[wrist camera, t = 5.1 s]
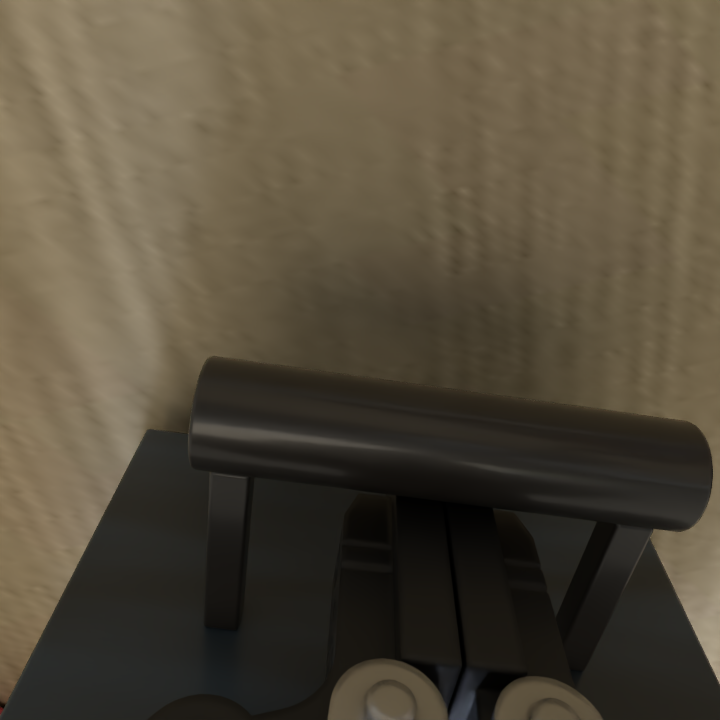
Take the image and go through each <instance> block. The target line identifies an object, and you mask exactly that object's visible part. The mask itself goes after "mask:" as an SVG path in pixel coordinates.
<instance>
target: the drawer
mask: <svg viewBox="0 0 720 720" xmlns="http://www.w3.org/2000/svg"><path fill="white" fill-rule="evenodd" d="M712 480H713V466H712V457H711V452H710V448H709V445H708V442H707V440H706V438H705V436H704V435H703V433H702V432H701V430H700V429H699V428H698V427H696V426H695V425H693V424H692V423H690V422H687V421H682V420H675V419H668V418H660V417H653V416H646V415H638V414H631V413H624V412H617V411H609V410H602V409H595V408H587V407H580V406H573V405H566V404H558V403H551V402H544V401H536V400H529V399H522V398H515V397H507V396H500V395H493V394H486V393H478V392H471V391H464V390H456V389H449V388H442V387H435V386H427V385H420V384H413V383H405V382H398V381H391V380H384V379H376V378H369V377H362V376H354V375H347V374H340V373H333V372H325V371H318V370H311V369H303V368H296V367H289V366H282V365H274V364H267V363H260V362H252V361H245V360H238V359H231V358H223V357H216V356H212V357H209V358H208V359H207V360H206V362H205V363H204V365H203V367H202V370H201V372H200V375H199V378H198V381H197V385H196V389H195V393H194V398H193V403H192V409H191V415H190V423H189V434H184V433H177V432H169V431H161V430H154V429H148V430H147V431H146V433H145V435H144V436H143V438H142V440H141V442H140V444H139V446H138V448H137V450H136V452H135V454H134V456H133V458H132V460H131V462H130V464H129V466H128V468H127V470H126V472H125V473H124V475H123V477H122V479H121V481H120V483H119V485H118V487H117V489H116V491H115V493H114V495H113V497H112V499H111V501H110V503H109V505H108V507H107V509H106V510H105V512H104V514H103V516H102V518H101V520H100V522H99V524H98V526H97V528H96V530H95V532H94V534H93V536H92V538H91V540H90V542H89V544H88V546H87V547H86V549H85V551H84V553H83V555H82V557H81V559H80V561H79V563H78V565H77V567H76V569H75V571H74V573H73V575H72V577H71V579H70V581H69V583H68V584H67V586H66V588H65V590H64V592H63V594H62V596H61V598H60V600H59V602H58V604H57V606H56V608H55V610H54V612H53V614H52V616H51V618H50V620H49V621H48V623H47V625H46V627H45V629H44V631H43V633H42V635H41V637H40V639H39V641H38V643H37V645H36V647H35V649H34V651H33V653H32V655H31V657H30V658H29V660H28V662H27V664H26V666H25V668H24V670H23V672H22V674H21V676H20V678H19V680H18V682H17V684H16V686H15V688H14V690H13V692H12V694H11V695H10V697H9V699H8V701H7V703H6V705H5V707H4V709H3V711H2V713H1V715H0V720H147V719H148V718H149V717H151V716H152V715H153V714H154V713H155V712H157V711H158V710H160V709H161V708H162V707H164V706H165V705H167V704H169V703H171V702H173V701H175V700H177V699H180V698H183V697H186V696H191V695H197V694H212V695H218V696H222V697H225V698H228V699H231V700H233V701H234V702H236V703H238V704H240V705H241V706H242V707H243V708H245V709H246V710H247V711H248V712H249V713H250V715H251V716H252V715H257V714H261V713H266V712H270V711H275V710H279V709H283V708H286V707H290V706H293V705H295V704H297V703H299V702H302V701H303V700H305V699H306V698H308V697H309V696H311V695H312V694H313V693H314V692H316V691H317V690H318V689H319V688H320V687H321V685H322V684H323V683H324V682H325V675H326V662H327V649H328V637H329V623H330V612H331V597H332V585H333V577H334V571H335V565H336V559H337V554H338V548H339V542H340V536H341V531H342V525H343V519H344V514H345V512H346V511H347V509H348V508H349V506H350V505H351V504H352V502H353V501H354V499H355V498H356V496H357V495H358V493H364V494H372V495H380V496H386V494H388V495H396V496H404V497H412V498H419V499H427V500H435V501H443V502H450V503H458V504H466V505H474V506H481V507H489V508H493V510H500V511H508V512H514V513H515V514H516V515H517V517H518V518H519V519H520V521H521V522H522V523H523V524H524V526H525V527H526V528H527V530H528V531H529V532H530V534H531V535H532V536H533V538H534V542H535V545H536V549H537V553H538V556H539V560H540V563H541V566H540V569H541V570H542V571H543V574H544V578H545V582H546V585H547V593H549V596H550V600H551V603H552V607H553V611H554V614H555V618H556V622H557V625H558V629H559V633H560V636H561V640H562V643H563V647H564V651H565V654H566V658H567V662H568V665H569V669H570V672H571V676H572V680H573V683H574V685H575V688H576V690H577V691H578V692H579V693H580V694H582V695H583V696H584V697H585V698H586V699H587V700H588V701H589V702H591V703H592V705H593V706H594V707H595V708H596V709H597V711H598V712H599V713H600V715H601V716H602V718H603V720H720V684H719V682H718V680H717V678H716V676H715V673H714V671H713V669H712V667H711V665H710V663H709V661H708V659H707V657H706V655H705V653H704V650H703V648H702V646H701V644H700V642H699V640H698V638H697V636H696V634H695V632H694V630H693V627H692V625H691V623H690V621H689V619H688V617H687V615H686V613H685V611H684V609H683V607H682V604H681V602H680V600H679V598H678V596H677V594H676V592H675V590H674V588H673V586H672V584H671V581H670V579H669V577H668V575H667V573H666V571H665V569H664V567H663V565H662V563H661V561H660V558H659V556H658V554H657V552H656V550H655V548H654V546H653V544H652V542H651V540H650V537H651V535H652V533H653V529H660V530H668V531H675V532H681V531H685V530H687V529H690V528H691V527H693V526H694V525H695V524H696V523H697V522H698V521H699V520H700V518H701V517H702V515H703V513H704V511H705V509H706V507H707V504H708V501H709V498H710V494H711V488H712Z"/></svg>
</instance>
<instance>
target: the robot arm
mask: <svg viewBox="0 0 720 720" xmlns="http://www.w3.org/2000/svg"><path fill="white" fill-rule="evenodd" d="M540 566H541V563H540V560H539V556H538V553H537V549H536V545H535V542H534V538H533V536H532V535H531V534H530V532H529V531H528V530H527V528H526V527H525V526H524V524H523V523H522V522H521V521H520V519H519V518H518V517H517V515H516V514H515V513H514V512H508V511H500V510H493V508H489V507H481V506H474V505H466V504H458V503H450V502H443V501H435V500H427V499H419V498H412V497H404V496H396V495H388V494H386V496H380V495H372V494H364V493H358V495H357V496H356V498H355V499H354V501H353V502H352V504H351V505H350V506H349V508H348V509H347V511H346V512H345V514H344V519H343V525H342V531H341V536H340V542H339V548H338V554H337V559H336V565H335V571H334V577H333V585H332V597H331V612H330V623H329V637H328V649H327V662H326V675H325V682H324V683H323V684H322V685H321V687H320V688H319V689H318V690H317V691H316V692H314V693H313V694H312V695H311V696H309V697H308V698H306V699H305V700H303V701H302V702H299V703H297V704H295V705H293V706H290V707H286V708H283V709H279V710H275V711H270V712H266V713H261V714H257V715H252V716H251V715H250V713H249V712H248V711H247V710H246V709H245V708H243V707H242V706H241V705H240V704H238V703H236V702H234V701H233V700H231V699H228V698H225V697H222V696H218V695H212V694H197V695H191V696H186V697H183V698H180V699H177V700H175V701H173V702H171V703H169V704H167V705H165V706H164V707H162V708H161V709H160V710H158V711H157V712H155V713H154V714H153V715H152V716H151V717H149V718H148V719H147V720H603V718H602V716H601V715H600V713H599V712H598V711H597V709H596V708H595V707H594V706H593V705H592V703H591V702H589V701H588V700H587V699H586V698H585V697H584V696H583V695H582V694H580V693H579V692H578V691H577V690H576V688H575V685H574V683H573V680H572V676H571V672H570V669H569V665H568V662H567V658H566V654H565V651H564V647H563V643H562V640H561V636H560V633H559V629H558V625H557V622H556V618H555V614H554V611H553V607H552V603H551V600H550V596H549V593H547V585H546V582H545V578H544V574H543V571H542V570H541V569H540Z"/></svg>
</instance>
